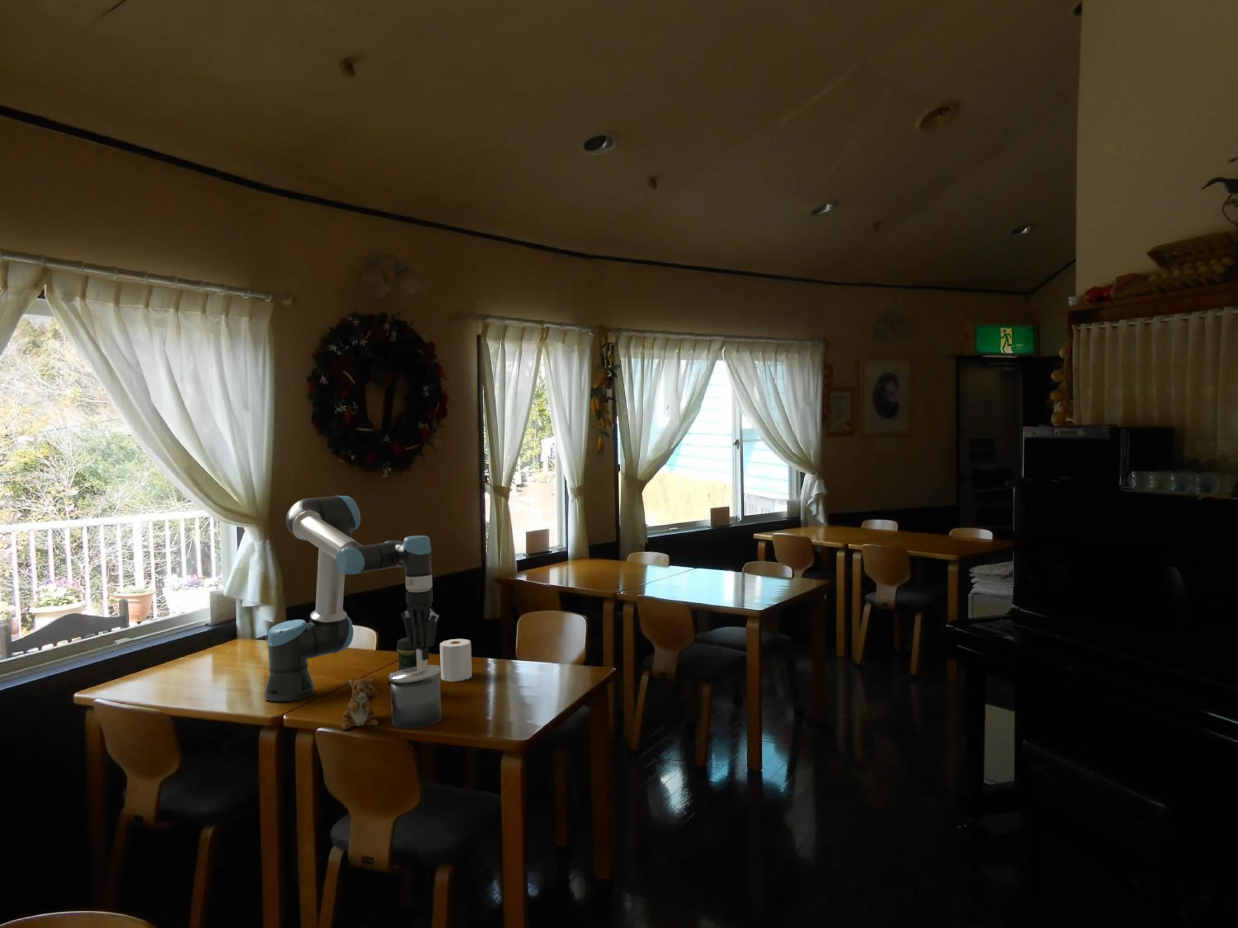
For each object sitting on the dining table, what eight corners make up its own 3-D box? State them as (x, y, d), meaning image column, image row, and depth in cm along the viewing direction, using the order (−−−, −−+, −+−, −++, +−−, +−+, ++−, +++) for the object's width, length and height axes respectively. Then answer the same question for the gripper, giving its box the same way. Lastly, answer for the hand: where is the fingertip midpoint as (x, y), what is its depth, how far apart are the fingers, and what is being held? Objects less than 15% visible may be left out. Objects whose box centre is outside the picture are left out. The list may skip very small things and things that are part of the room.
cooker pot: (377, 723, 235) (376, 682, 235) (411, 708, 248) (409, 669, 247) (419, 731, 228) (417, 689, 228) (451, 715, 241) (449, 675, 240)
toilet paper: (435, 677, 280) (434, 642, 279) (462, 671, 286) (461, 636, 286) (450, 683, 272) (449, 647, 272) (477, 676, 279) (476, 641, 278)
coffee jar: (412, 699, 257) (409, 640, 256) (393, 695, 261) (391, 638, 260) (433, 690, 265) (431, 633, 264) (415, 687, 269) (413, 631, 268)
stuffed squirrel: (340, 731, 230) (339, 685, 229) (345, 715, 243) (343, 672, 243) (377, 727, 232) (376, 682, 232) (379, 711, 246) (378, 668, 245)
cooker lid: (376, 683, 235) (376, 678, 235) (411, 669, 248) (410, 665, 248) (417, 683, 228) (416, 678, 228) (450, 669, 240) (450, 664, 240)
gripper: (392, 590, 235) (396, 671, 236) (428, 593, 229) (431, 676, 230) (410, 586, 241) (413, 664, 242) (445, 588, 235) (448, 669, 236)
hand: (422, 670), depth 236 cm, fingers closed
